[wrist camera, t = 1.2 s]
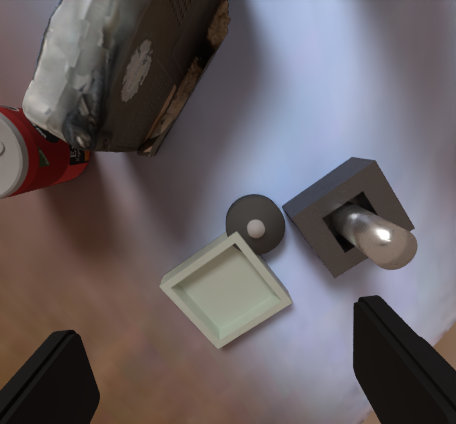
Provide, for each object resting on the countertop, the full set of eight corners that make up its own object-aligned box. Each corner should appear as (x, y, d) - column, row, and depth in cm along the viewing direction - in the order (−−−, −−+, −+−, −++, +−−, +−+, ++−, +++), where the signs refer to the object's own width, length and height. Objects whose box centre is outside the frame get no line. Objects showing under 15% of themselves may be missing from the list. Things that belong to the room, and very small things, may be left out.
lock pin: (343, 192, 31) (404, 220, 20) (358, 215, 32) (424, 253, 21) (317, 210, 32) (364, 245, 21) (333, 232, 32) (385, 277, 22)
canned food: (106, 157, 31) (43, 167, 20) (55, 193, 32) (-29, 221, 21) (61, 98, 29) (-33, 75, 18) (9, 138, 30) (-108, 139, 19)
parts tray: (236, 224, 33) (236, 231, 30) (287, 290, 36) (292, 302, 33) (164, 275, 35) (159, 286, 32) (218, 334, 38) (218, 349, 35)
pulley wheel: (260, 183, 32) (264, 187, 29) (291, 226, 33) (298, 235, 30) (214, 216, 33) (213, 224, 30) (247, 256, 34) (249, 268, 31)
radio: (207, -95, 25) (181, -424, 10) (277, -28, 26) (341, -233, 12) (87, 114, 29) (-45, 92, 15) (152, 161, 31) (88, 180, 17)
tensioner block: (352, 157, 31) (375, 160, 26) (387, 215, 33) (414, 228, 28) (281, 206, 32) (291, 217, 28) (319, 258, 34) (334, 278, 30)
